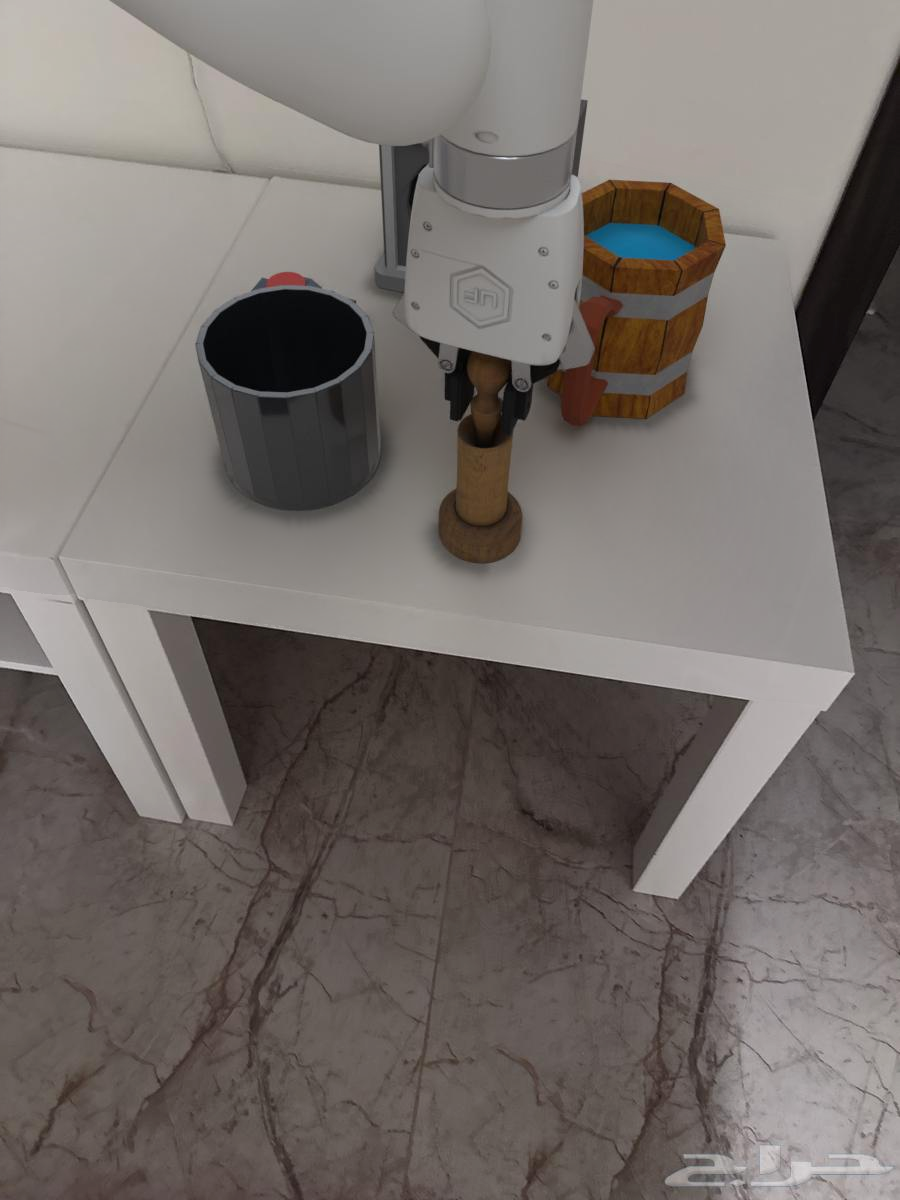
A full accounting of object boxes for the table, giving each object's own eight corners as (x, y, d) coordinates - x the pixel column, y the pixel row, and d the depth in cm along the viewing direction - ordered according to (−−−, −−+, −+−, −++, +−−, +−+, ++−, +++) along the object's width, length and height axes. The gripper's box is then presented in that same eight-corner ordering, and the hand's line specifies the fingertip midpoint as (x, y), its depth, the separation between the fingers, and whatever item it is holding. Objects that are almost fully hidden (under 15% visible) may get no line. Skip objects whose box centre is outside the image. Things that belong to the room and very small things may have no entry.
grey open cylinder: (196, 485, 77) (162, 371, 67) (268, 386, 84) (247, 270, 74) (342, 528, 74) (328, 416, 64) (403, 422, 82) (399, 307, 72)
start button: (262, 306, 85) (259, 289, 84) (279, 284, 87) (277, 268, 86) (297, 315, 85) (295, 298, 83) (314, 292, 87) (312, 276, 85)
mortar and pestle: (425, 548, 73) (423, 367, 59) (456, 492, 77) (461, 308, 62) (504, 573, 72) (522, 394, 57) (531, 515, 75) (555, 333, 61)
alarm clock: (371, 286, 93) (359, 99, 79) (412, 216, 101) (409, 34, 86) (549, 321, 90) (571, 134, 76) (577, 247, 98) (603, 63, 83)
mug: (574, 310, 91) (595, 162, 79) (706, 351, 88) (749, 203, 76) (490, 433, 81) (500, 285, 69) (636, 485, 77) (673, 338, 65)
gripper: (333, 160, 49) (356, 420, 64) (636, 224, 46) (586, 482, 60) (387, 96, 53) (397, 355, 68) (668, 151, 50) (614, 409, 65)
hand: (487, 413), depth 64 cm, fingers open, 3 cm apart
